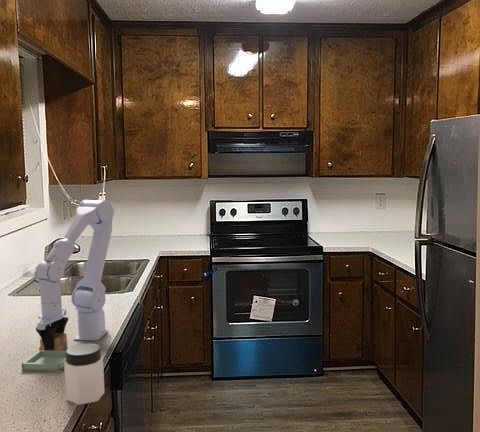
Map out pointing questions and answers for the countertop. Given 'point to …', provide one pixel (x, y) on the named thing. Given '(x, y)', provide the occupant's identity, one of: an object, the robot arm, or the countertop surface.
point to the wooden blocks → (57, 342)
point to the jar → (84, 373)
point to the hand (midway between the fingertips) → (53, 345)
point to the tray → (45, 361)
